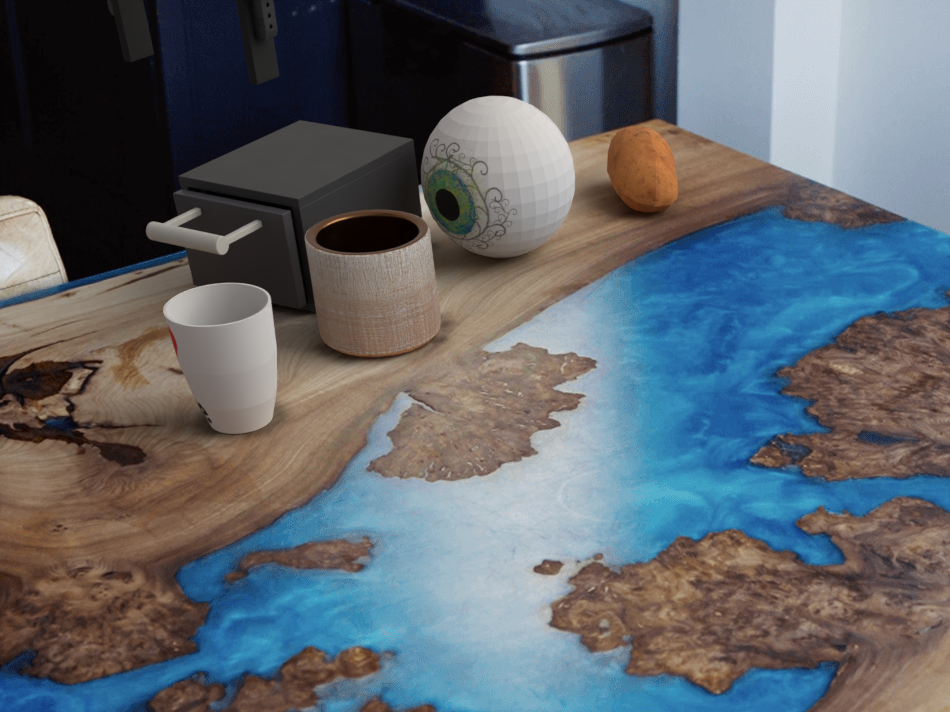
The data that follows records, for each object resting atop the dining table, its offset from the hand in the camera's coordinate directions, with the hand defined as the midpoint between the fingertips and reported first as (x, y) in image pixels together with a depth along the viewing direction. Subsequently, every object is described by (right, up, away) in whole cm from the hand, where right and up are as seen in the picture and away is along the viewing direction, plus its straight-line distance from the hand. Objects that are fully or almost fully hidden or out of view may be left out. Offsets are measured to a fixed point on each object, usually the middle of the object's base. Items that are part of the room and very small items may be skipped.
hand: (200, 69), depth 116 cm
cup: (+4, -29, -1) cm, 29 cm away
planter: (+13, -20, +11) cm, 26 cm away
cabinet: (+4, -10, +24) cm, 26 cm away
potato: (+36, +1, +37) cm, 52 cm away
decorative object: (+22, -8, +26) cm, 35 cm away
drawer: (+1, -12, +19) cm, 23 cm away
